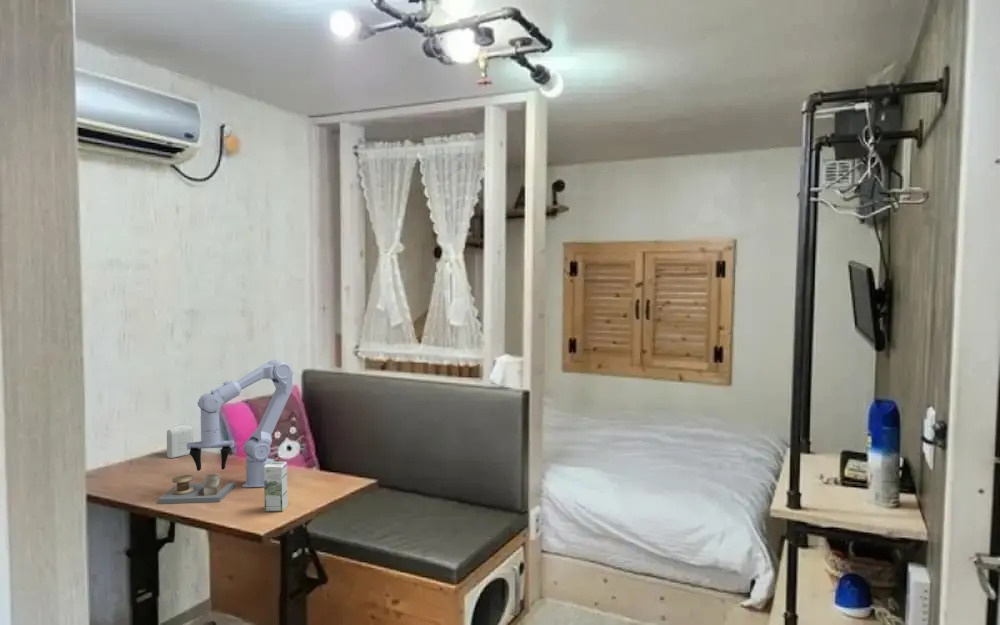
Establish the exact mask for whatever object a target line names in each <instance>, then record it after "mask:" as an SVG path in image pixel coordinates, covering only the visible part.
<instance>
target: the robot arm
mask: <svg viewBox="0 0 1000 625" xmlns="http://www.w3.org/2000/svg"><path fill="white" fill-rule="evenodd" d="M293 375H294V371H293V369H292V367H291V366H290V364H289V363H287V362H284V361H279V360H276V359H272V360H269V361H268V362H266V363H263V364H262V365H260V366H258V367H257V368H255V369H254V370H252V371H250V372H249V373H247V374H246V375H244V376H243V377H241V378H240V379H238V380H237V381H233V380H229V381H228V380H226V381H224V382H222V385H221V386H218V387H217V388H216V389H211V390H210V392H209V393H208V392H207V393H203V394H202V395H200V397H199V399H198V402H197V406H198V408H199V409H200V441H193V442H192V443H188V444H187V450H190V454H189V455H190V456H191V457H192V459H193V462H194V464H195V467H196V471H197V472H199V471H201V469H202V460H201V454H202V450H203V449H220V450H219V451H220V456H221V458H220V460H221V465H220V466H221V470H225V469H226V466H227V465H226V464H227V460H228V456H229V454H230V452H231V449H233V448H234V447H235V440H220V439H221V436H220V435H221V434H220V433H221V432H220V429H221V428H220V413H219V412H220V411H219V410H220V409H221V407H222V405H225V404H226V403H227V404H228V402H230V401H232V400H233V399H235V398H237V397H238V396H240V395H241V393H242V390H244V389H245V388H248V387H249V386H252V385H253V384H255V383H257V382H259V381H261V380H264V379H265V380H271V381H272V383H273V385H274V387H275V390H274V392H273V394H272V397H271V399H270V401H269V403H268V405H267V407H266V410H265V412H264V413H263V416H262V418H261V419H260V422H259V424H258V427H257V429H256V430H254V432H252V433H251V435H250V437H249V438H248V439H247V440H246V441H245V442H244V444H243V449H242V450H243V452H244V453H245V454H246V457H245V472H246V474H245V479H246V482H245V483H244V484H243V485H242V488H264V466H265V465H266V464H267V463H268V462H276V461H275V459H274V458H270V457H269V456H270V453H271V445H272V443H273V438H272V434H273V432H274V430H275V428H276V426H277V424H278V421H279V419H280V418H281V415H282V413H283V411H284V408H285V406H286V404H287V402H288V399H289V398H290V395H291V393H292V391H293Z"/></svg>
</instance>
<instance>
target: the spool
mask: <svg viewBox="0 0 1000 625" xmlns="http://www.w3.org/2000/svg"><path fill="white" fill-rule="evenodd" d="M193 480H194V475H191V474H183V475H176V476H174V477H172V479H171V482H172V483H173V484H176V485H177V488H175V489H173V490H172V494H174V495H184V494H188V493H191V492H193V491H194V488H193V487H191V486H189V483H190V482H192V481H193Z"/></svg>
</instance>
